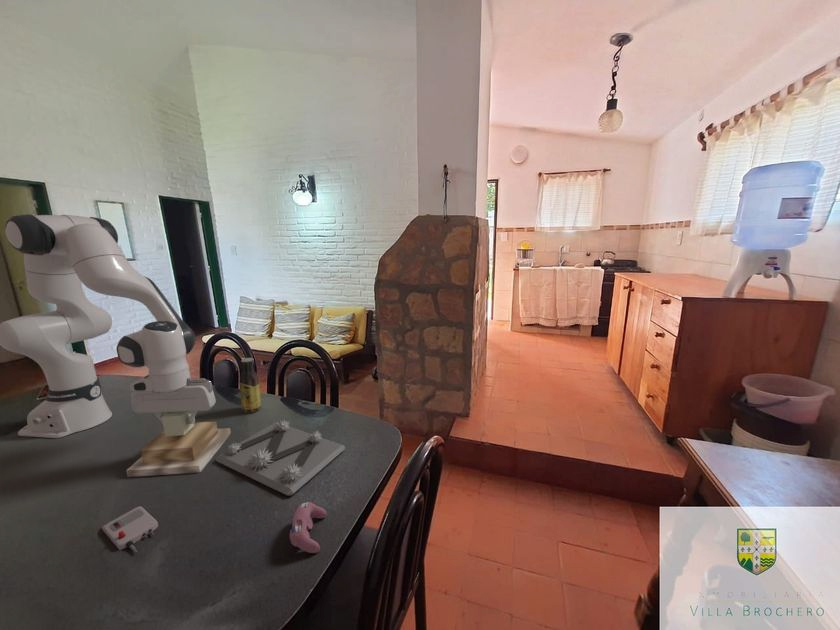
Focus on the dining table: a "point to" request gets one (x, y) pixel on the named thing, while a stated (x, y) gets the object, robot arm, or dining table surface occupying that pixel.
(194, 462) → the stacking base
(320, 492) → the dining table surface
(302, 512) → the video game controller
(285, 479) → the decorative plate
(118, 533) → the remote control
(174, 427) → the sage block
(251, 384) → the sauce bottle
